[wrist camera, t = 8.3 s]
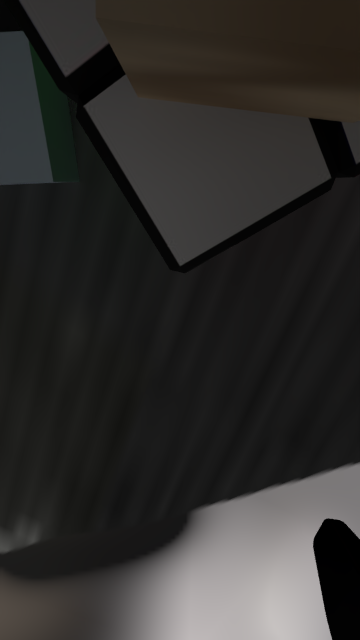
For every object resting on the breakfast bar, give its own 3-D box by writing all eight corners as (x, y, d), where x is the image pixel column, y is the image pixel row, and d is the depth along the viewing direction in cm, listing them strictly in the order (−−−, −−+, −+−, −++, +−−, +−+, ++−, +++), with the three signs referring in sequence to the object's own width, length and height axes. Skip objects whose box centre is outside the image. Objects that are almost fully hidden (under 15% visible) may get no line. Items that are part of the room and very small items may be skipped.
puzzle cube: (351, 126, 16) (571, 56, 7) (178, 231, 18) (176, 283, 9) (265, -124, 13) (470, -860, 4) (66, 39, 15) (-115, -184, 6)
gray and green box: (-13, 185, 18) (-65, 187, 14) (-42, 71, 16) (-110, 38, 12) (80, 181, 17) (53, 182, 14) (63, 66, 15) (26, 30, 12)
